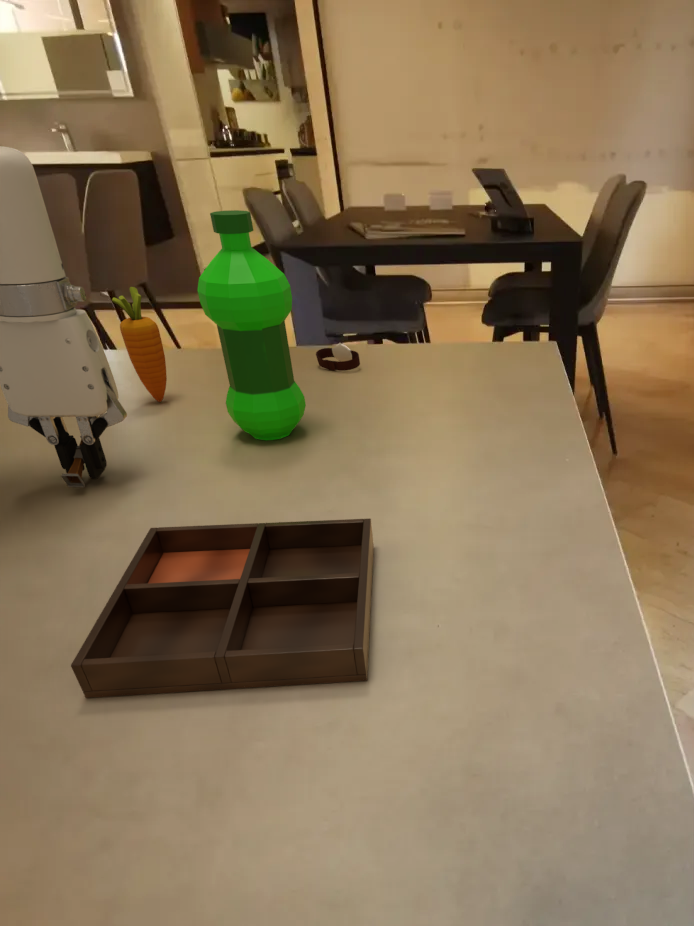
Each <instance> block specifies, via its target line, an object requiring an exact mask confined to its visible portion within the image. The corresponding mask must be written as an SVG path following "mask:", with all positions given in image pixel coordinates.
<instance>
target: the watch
mask: <svg viewBox="0 0 694 926" xmlns="http://www.w3.org/2000/svg"><path fill="white" fill-rule="evenodd" d="M315 357H316V359H317V363H318V366H319V367H321V368H322V369H325V370H328V371H333V372H335V371H340V372H342V371H343V372H345V371H352V370H354V369H357V368H358V367H359V366H360V365H361V361H360V354H359V352H358V351H356V350H352V349H350V348H349V347H348V346H347V345H346V344H345V343H341V342H339V343H337V344H335V346H334V347H324V348H323V347H322V348H320V349H318V350H317V351H316V352H315ZM328 358H334V359H336V360H329V359H328Z"/></svg>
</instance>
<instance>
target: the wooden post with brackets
mask: <svg viewBox="0 0 694 926" xmlns="http://www.w3.org/2000/svg"><path fill="white" fill-rule="evenodd" d="M79 437H80V442H79V445H78V446H77V447H76V448H77V449H76V453H75V456H74V459H75V460H74V462H73V464H72V466H71V468H70V470H69V472H68V473H67V472H66V473H61V475H60V478H62V479H61V480H63V482H64V483H65V484H66V486H67V487H68V488H86V487H85V485H86V483H85V482H84V481H83V472H84V470H83V466H84V467H85V462H84V459H83V456H82V453H81V450H80V445H81V444H82V443H83V442H82V439H81V438H82V437H81V435H80V436H79Z"/></svg>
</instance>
